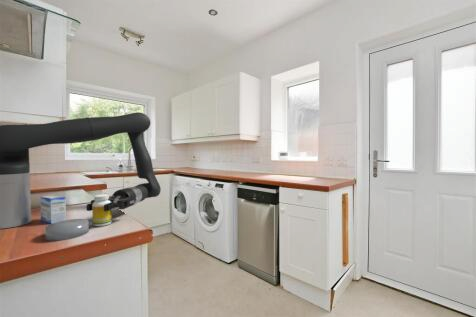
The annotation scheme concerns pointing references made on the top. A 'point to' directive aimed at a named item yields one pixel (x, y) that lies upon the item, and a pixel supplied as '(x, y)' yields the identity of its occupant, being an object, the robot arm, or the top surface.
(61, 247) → the top surface
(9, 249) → the top surface
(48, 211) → the medicine box
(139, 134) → the robot arm
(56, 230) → the plinth
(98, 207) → the supplement bottle
